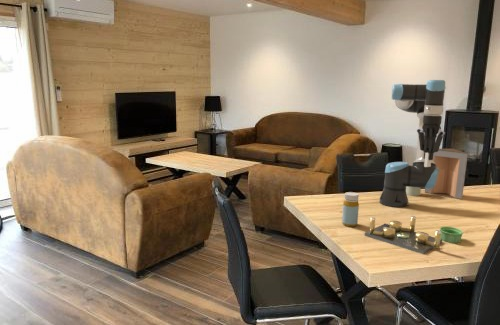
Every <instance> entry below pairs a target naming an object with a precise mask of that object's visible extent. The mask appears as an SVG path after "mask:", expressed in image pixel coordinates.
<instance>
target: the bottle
mask: <svg viewBox="0 0 500 325" xmlns="http://www.w3.org/2000/svg"><path fill="white" fill-rule="evenodd" d="M359 209H360V204H359V193H357V192H353V191H348V192H345V193H344V201H343V203H342V218H341V220H342V222H341V223H342V225H343V226H345V227H348V228H349V227H351V228H355V227H357V225H358V221H359Z"/></svg>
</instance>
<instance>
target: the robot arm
mask: <svg viewBox="0 0 500 325" xmlns="http://www.w3.org/2000/svg"><path fill="white" fill-rule="evenodd" d="M445 90H446V81H445V80H444V79H429V80H427V82H426V84H413V83H411V84H410V83H409V84H408V83H407V84H406V83H397V84H393V85H392V88H391V100H393V101H394V103H395V106H396V107H397V108H398V109H399V110H402V111H404V112H407V113H411V114H412V113H414V114H416V117H417V118H418V119H419V121H418V122H419V123H418V128H417V129H416V132H417V146H416V158H415V160H414V161H413V162H412V165H409V162H406V161H394V162H393V161H392V162H388V163H387V164H386V165H385V170H384V181H383V182H384V183H383V189H382V192H381V194H380V196H379V203H380V204H382V205H384V206H386V207H392V208H393V207H394V208H406V207H408V205H409V198H408V195H407V194H406V186H407V187H417V188H421V189H424V190H425V188H428V189H432V188H434V186H435V184H436V180H437V176H438V170H439V168H437V167H436V164H435V163H434V161H433V157H434V153H435V152H438V150H439V149H440V147H441V144H442V142H443V138H444V137H445V135H446V133H447V132H446V131H443V130H442V128H441V124H442V119H443V116H442V115H443V112H444V99H445V93H446V91H445Z"/></svg>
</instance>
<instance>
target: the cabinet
mask: <svg viewBox="0 0 500 325" xmlns="http://www.w3.org/2000/svg"><path fill="white" fill-rule="evenodd" d="M468 156H469V152H467V151H466V152H465V151H461V150H458V149H454V148H439V150H438V152H435V153H434V157H433V161H434V163H435V164H436V167H437V168H439V170H438V176H437V180H436V184H435V186H434V188H432V189H428V188H425V189H424V194H428V195H433V196H440V197H445V198H451V199H454V200H455V199H456V200H463V194H464V188H465V178H466V170H467V163H468Z"/></svg>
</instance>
